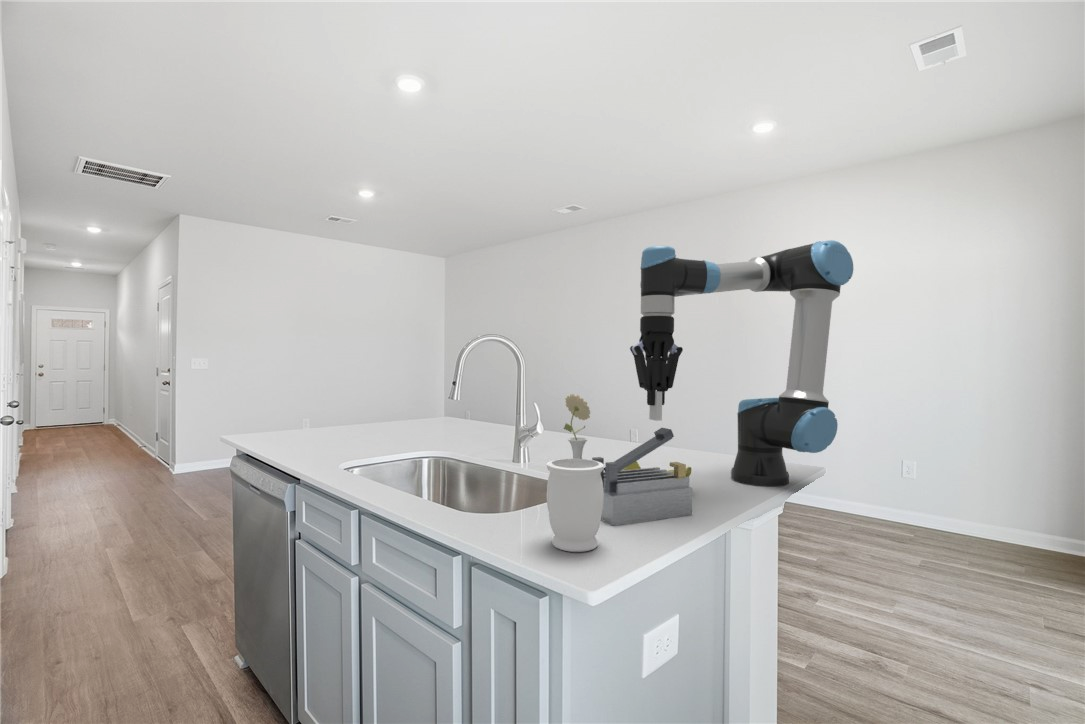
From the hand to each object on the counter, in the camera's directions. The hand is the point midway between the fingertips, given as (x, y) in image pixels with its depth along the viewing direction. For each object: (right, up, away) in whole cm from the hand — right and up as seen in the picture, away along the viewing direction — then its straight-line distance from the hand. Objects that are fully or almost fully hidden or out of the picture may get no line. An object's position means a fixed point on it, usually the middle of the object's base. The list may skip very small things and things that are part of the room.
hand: (655, 419), depth 121 cm
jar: (-20, -21, -23) cm, 37 cm away
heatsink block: (-5, -20, -2) cm, 21 cm away
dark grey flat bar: (-4, -8, -1) cm, 9 cm away
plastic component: (+4, -21, +19) cm, 28 cm away
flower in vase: (-17, -20, +15) cm, 30 cm away
